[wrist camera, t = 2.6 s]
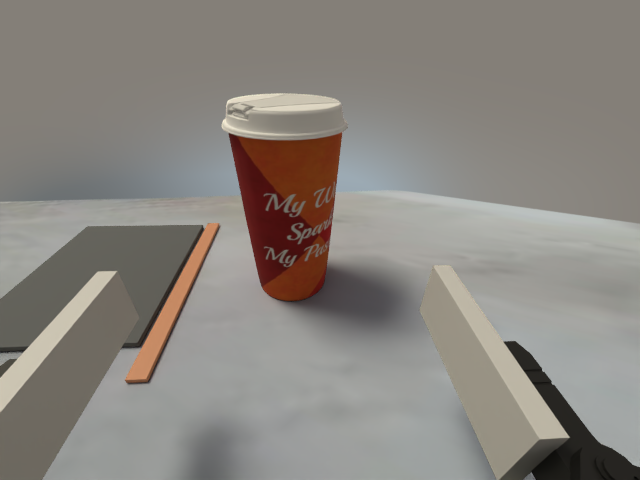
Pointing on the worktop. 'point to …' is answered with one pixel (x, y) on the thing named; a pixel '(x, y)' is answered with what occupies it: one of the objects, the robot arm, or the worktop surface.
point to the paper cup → (287, 184)
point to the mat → (83, 263)
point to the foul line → (170, 311)
